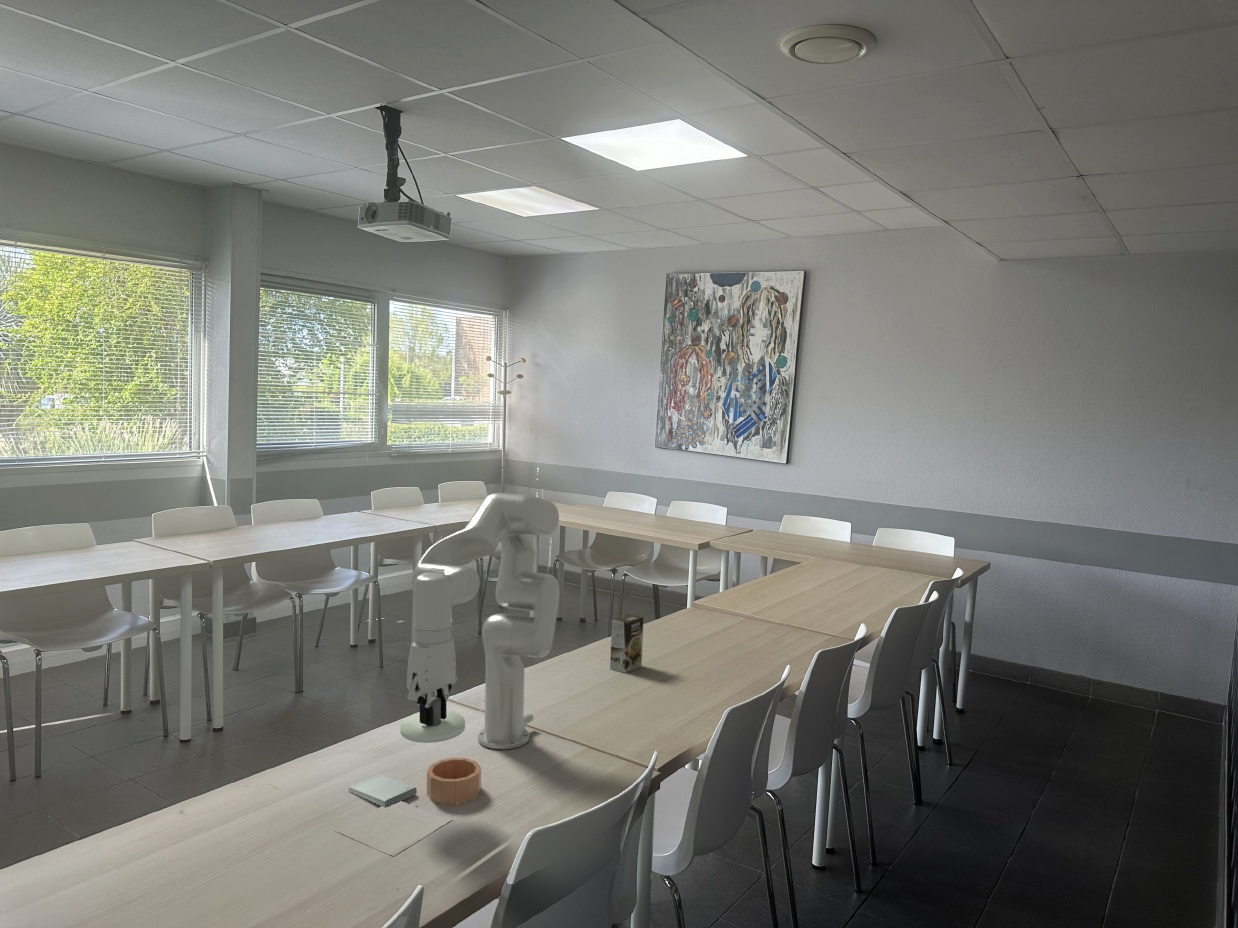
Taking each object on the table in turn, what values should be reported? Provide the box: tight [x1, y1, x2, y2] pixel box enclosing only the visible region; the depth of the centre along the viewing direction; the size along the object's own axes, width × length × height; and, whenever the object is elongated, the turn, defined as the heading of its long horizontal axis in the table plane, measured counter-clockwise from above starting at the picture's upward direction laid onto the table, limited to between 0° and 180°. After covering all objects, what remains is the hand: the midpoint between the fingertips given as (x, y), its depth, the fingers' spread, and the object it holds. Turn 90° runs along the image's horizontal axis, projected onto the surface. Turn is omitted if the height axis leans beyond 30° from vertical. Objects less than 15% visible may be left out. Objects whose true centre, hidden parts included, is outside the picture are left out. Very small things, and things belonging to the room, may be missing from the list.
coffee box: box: [609, 613, 644, 673], centre depth 263 cm, size 9×6×16 cm
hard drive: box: [347, 774, 418, 808], centre depth 176 cm, size 2×8×12 cm
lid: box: [399, 696, 466, 744], centre depth 171 cm, size 13×13×6 cm
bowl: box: [426, 757, 482, 805], centre depth 178 cm, size 11×11×6 cm
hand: (433, 719), depth 171 cm, fingers closed on lid, 3 cm apart
